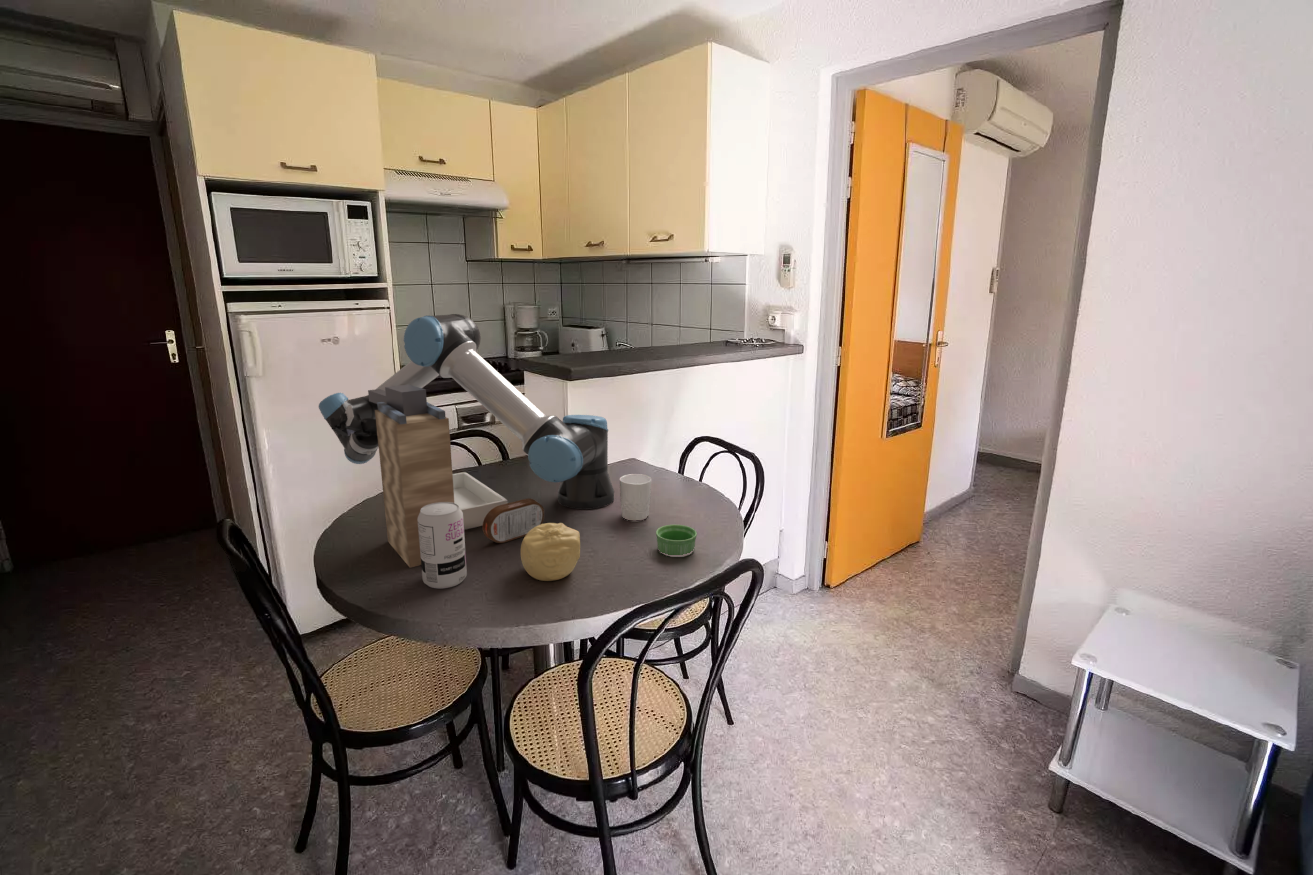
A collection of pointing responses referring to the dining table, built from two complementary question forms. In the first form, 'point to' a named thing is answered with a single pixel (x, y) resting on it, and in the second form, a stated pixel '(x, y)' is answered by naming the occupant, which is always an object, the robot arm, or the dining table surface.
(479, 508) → the bin
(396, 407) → the dark grey rectangular block
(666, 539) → the ramekin
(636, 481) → the white cup
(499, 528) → the tin
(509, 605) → the dining table surface
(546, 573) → the sculpture
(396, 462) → the stand
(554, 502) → the dining table surface
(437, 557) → the supplement can
